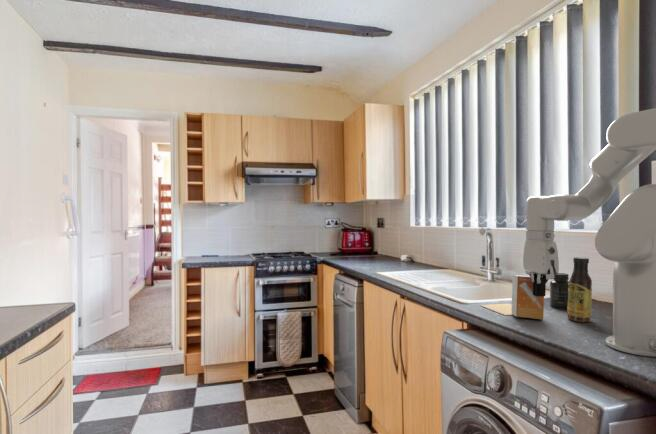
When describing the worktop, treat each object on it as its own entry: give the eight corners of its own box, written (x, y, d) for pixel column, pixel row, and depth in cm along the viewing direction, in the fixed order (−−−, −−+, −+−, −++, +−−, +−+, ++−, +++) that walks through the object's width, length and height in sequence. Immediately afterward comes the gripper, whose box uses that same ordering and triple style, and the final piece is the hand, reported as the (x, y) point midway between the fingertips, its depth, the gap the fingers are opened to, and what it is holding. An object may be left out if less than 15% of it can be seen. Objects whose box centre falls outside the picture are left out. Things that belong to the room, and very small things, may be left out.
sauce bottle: (562, 318, 123) (562, 256, 123) (576, 316, 125) (576, 255, 125) (582, 324, 117) (582, 259, 117) (596, 322, 119) (596, 258, 119)
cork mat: (536, 313, 129) (536, 312, 129) (505, 315, 127) (505, 314, 127) (509, 304, 143) (509, 303, 143) (480, 305, 141) (480, 305, 141)
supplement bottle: (550, 303, 143) (550, 271, 143) (572, 306, 139) (572, 273, 139) (548, 307, 137) (548, 274, 137) (571, 310, 133) (571, 275, 133)
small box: (516, 317, 122) (517, 275, 123) (511, 313, 128) (512, 274, 129) (544, 319, 120) (545, 277, 121) (537, 316, 126) (538, 276, 127)
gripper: (570, 238, 112) (569, 300, 112) (532, 234, 126) (532, 290, 127) (547, 238, 110) (547, 302, 111) (512, 234, 125) (512, 291, 125)
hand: (539, 295), depth 119 cm, fingers closed
